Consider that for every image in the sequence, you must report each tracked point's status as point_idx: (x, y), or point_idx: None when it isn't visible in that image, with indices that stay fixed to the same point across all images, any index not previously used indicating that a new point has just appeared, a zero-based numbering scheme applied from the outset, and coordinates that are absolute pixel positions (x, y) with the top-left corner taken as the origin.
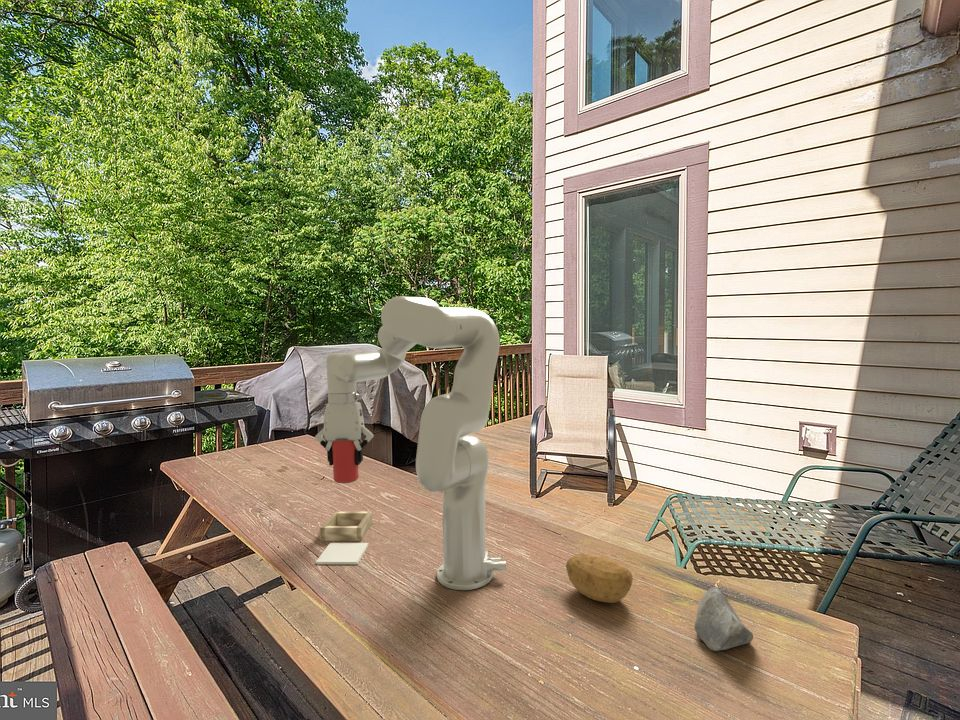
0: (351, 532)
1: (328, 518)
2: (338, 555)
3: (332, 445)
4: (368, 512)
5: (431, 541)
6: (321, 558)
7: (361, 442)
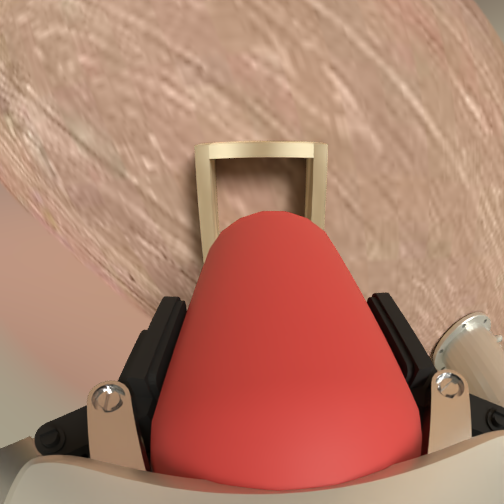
0: None
1: (198, 201)
2: None
3: None
4: (317, 151)
5: (450, 248)
6: None
7: (459, 425)
